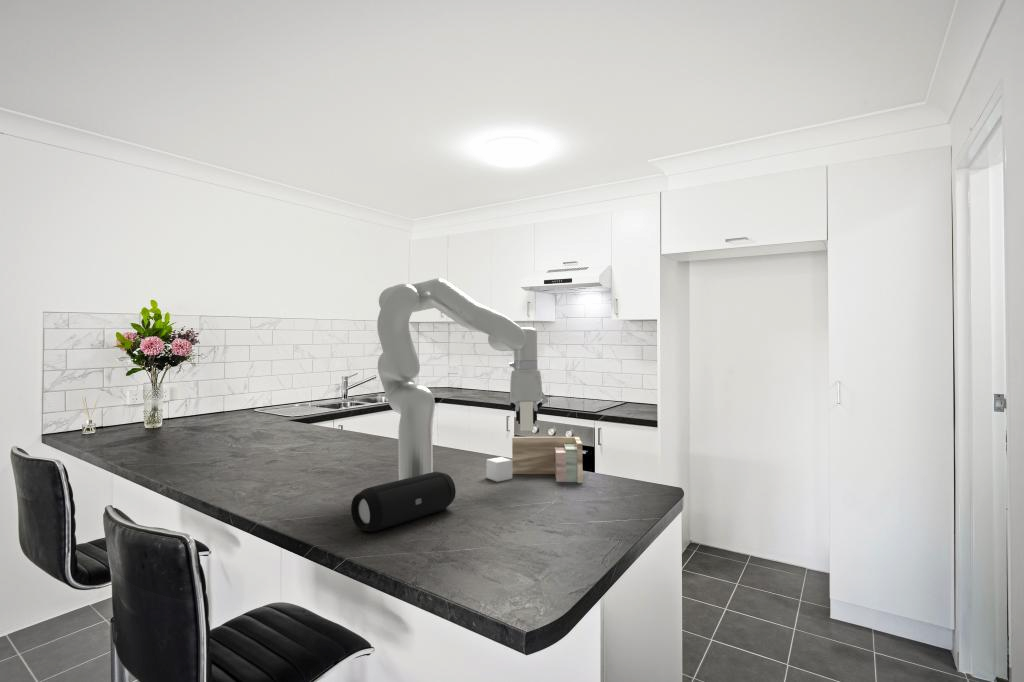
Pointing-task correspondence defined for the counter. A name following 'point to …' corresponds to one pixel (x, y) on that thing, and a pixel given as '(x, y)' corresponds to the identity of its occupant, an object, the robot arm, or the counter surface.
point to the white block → (526, 415)
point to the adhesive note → (499, 469)
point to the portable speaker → (402, 501)
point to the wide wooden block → (548, 457)
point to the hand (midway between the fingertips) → (526, 422)
